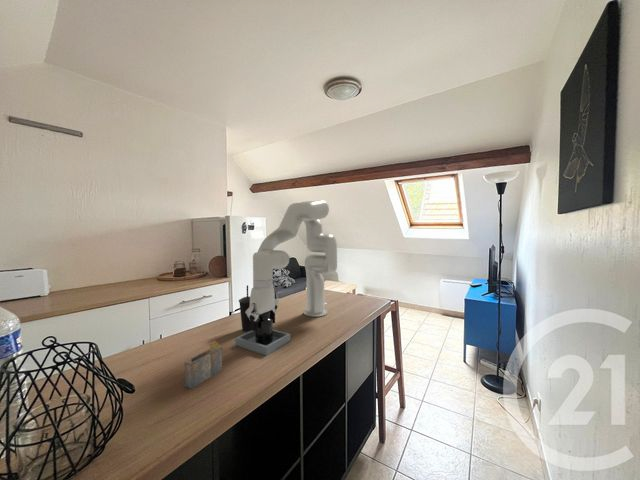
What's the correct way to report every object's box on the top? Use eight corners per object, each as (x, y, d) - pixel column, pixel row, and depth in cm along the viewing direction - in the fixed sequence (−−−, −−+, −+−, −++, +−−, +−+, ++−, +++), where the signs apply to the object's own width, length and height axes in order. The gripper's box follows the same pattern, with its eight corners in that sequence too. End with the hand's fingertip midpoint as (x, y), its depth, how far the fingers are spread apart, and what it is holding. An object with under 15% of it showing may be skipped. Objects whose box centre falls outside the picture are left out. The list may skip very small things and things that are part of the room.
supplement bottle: (266, 336, 108) (266, 307, 107) (276, 341, 103) (276, 311, 102) (251, 341, 103) (251, 311, 103) (261, 347, 98) (261, 315, 98)
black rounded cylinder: (252, 333, 113) (251, 287, 112) (235, 332, 114) (235, 287, 113) (259, 327, 120) (259, 284, 119) (244, 325, 122) (243, 283, 121)
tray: (261, 333, 113) (261, 326, 113) (290, 341, 105) (290, 333, 105) (235, 345, 101) (235, 337, 101) (266, 355, 93) (266, 347, 93)
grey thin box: (215, 368, 85) (214, 339, 85) (222, 370, 84) (221, 341, 84) (184, 387, 75) (183, 354, 75) (191, 390, 74) (190, 356, 73)
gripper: (270, 278, 111) (271, 318, 112) (239, 286, 96) (239, 331, 97) (284, 280, 107) (284, 321, 108) (253, 288, 93) (254, 336, 93)
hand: (263, 326), depth 103 cm, fingers open, 9 cm apart
